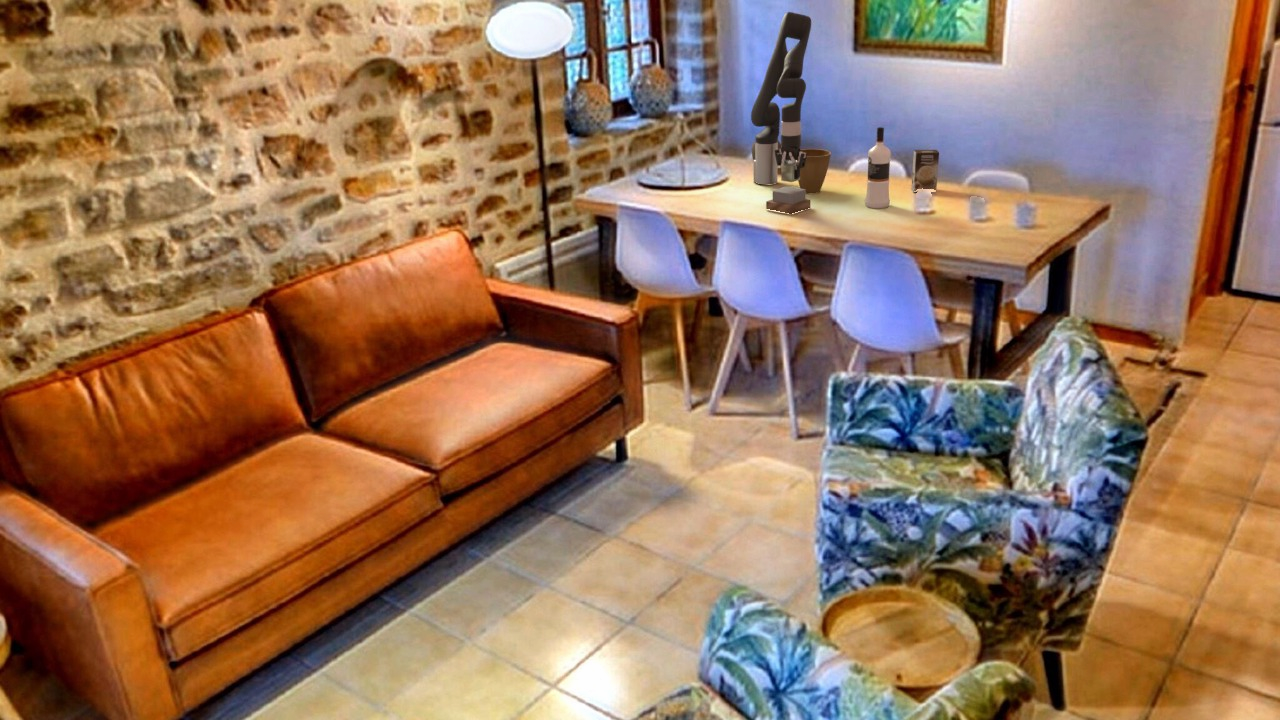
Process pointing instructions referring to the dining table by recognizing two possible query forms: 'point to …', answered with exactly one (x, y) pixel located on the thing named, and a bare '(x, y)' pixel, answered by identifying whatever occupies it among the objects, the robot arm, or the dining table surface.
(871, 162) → the vodka
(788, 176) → the sage block
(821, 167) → the plant pot
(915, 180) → the coffee box
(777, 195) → the tower upper block
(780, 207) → the tower lower block
